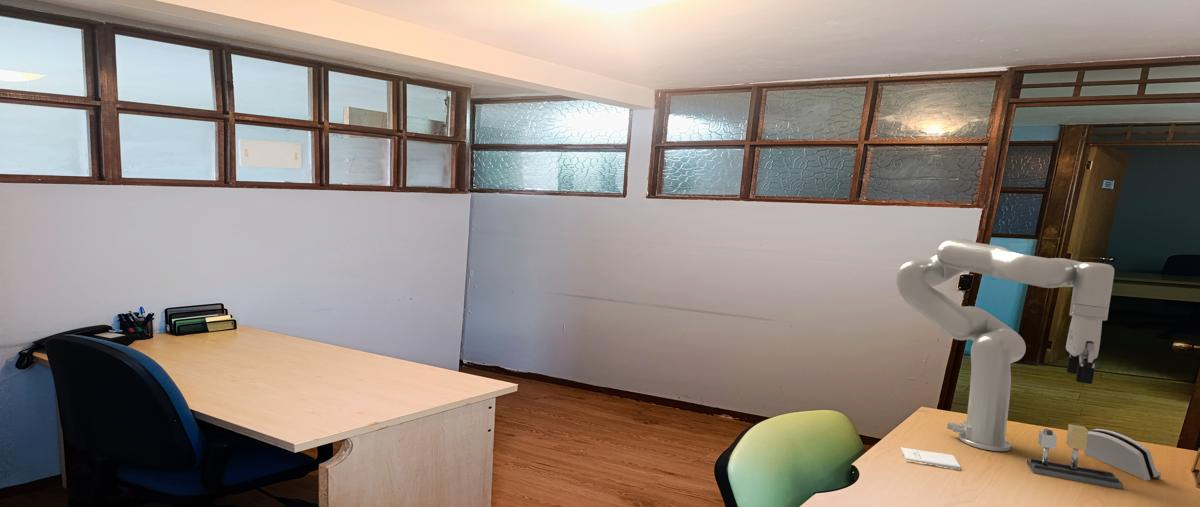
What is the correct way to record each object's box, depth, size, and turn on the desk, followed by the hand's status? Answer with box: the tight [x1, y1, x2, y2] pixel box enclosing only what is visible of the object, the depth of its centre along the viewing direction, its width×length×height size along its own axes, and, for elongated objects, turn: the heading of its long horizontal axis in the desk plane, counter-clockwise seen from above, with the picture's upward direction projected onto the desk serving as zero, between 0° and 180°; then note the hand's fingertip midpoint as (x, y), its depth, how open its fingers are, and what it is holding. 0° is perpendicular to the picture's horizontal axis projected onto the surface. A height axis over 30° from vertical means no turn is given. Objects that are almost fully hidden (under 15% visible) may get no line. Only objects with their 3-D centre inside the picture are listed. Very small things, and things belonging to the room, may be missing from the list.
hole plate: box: [1026, 428, 1124, 490], centre depth 154 cm, size 18×7×10 cm, turn 66°
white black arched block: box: [1083, 428, 1162, 481], centre depth 162 cm, size 17×5×10 cm, turn 10°
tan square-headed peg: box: [1065, 423, 1089, 469], centre depth 154 cm, size 3×3×11 cm
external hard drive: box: [900, 446, 961, 471], centre depth 160 cm, size 2×8×12 cm
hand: (1078, 378), depth 157 cm, fingers open, 9 cm apart
